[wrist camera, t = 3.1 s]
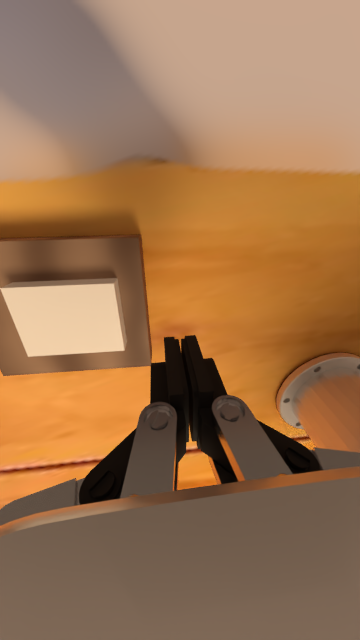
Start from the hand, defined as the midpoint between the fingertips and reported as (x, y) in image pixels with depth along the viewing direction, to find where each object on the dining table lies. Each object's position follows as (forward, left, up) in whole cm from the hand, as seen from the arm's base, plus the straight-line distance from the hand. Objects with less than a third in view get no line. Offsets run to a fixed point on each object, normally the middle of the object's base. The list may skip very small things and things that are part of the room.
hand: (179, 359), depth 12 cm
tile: (+8, 0, -8) cm, 11 cm away
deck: (+9, 0, -10) cm, 14 cm away
